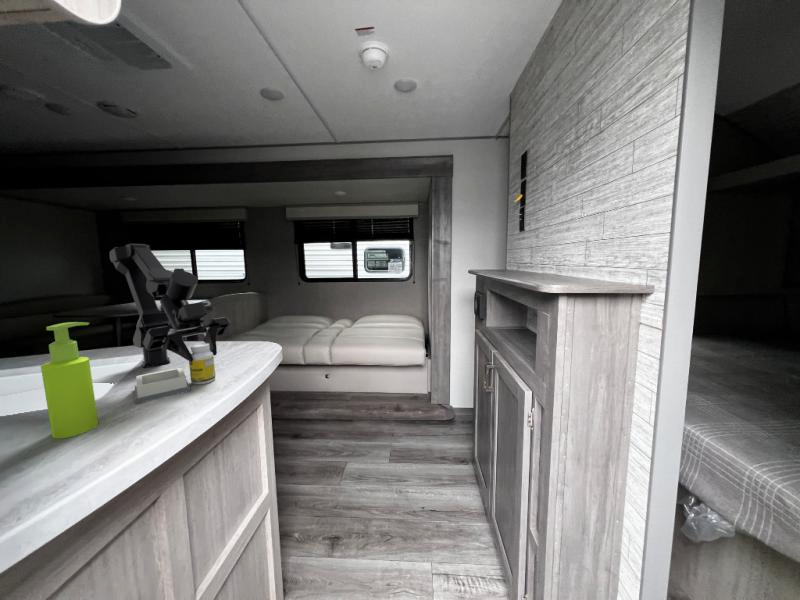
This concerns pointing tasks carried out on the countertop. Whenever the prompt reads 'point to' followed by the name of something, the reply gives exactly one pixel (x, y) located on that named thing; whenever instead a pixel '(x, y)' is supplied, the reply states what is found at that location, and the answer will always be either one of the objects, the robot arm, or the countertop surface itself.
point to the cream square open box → (160, 384)
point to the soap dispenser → (68, 386)
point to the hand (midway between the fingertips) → (204, 357)
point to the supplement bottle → (202, 364)
